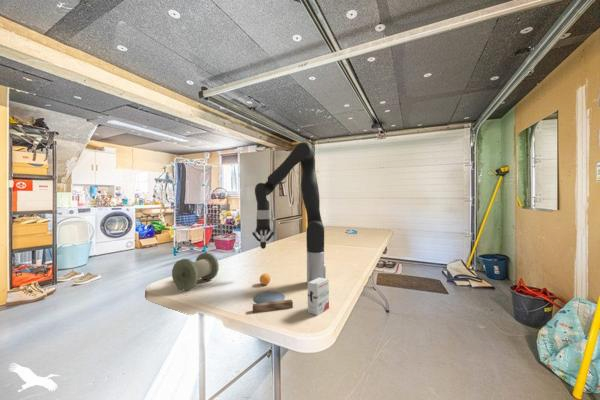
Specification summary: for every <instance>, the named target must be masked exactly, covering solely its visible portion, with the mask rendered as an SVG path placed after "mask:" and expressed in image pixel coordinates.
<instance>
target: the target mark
mask: <svg viewBox="0 0 600 400" xmlns="http://www.w3.org/2000/svg"><path fill="white" fill-rule="evenodd" d="M285 297H286V296H285V294H284V293H282V292H280V291H276V290H275V291H274V290H272V291H271V290H269V291H262V292H260V293H259V292H258V293H257V294H256V295H254V297H253V302H254V303H255V304H258V303H266V302H275V301H283V300H285Z"/></svg>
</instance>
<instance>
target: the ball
mask: <svg viewBox="0 0 600 400" xmlns="http://www.w3.org/2000/svg"><path fill="white" fill-rule="evenodd" d="M270 282H271V276H270V275H269V273H263V274H261V275H260V276H259V283H261V285H263V286H264V285H265V286H266V285H268V284H269V283H270Z"/></svg>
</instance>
